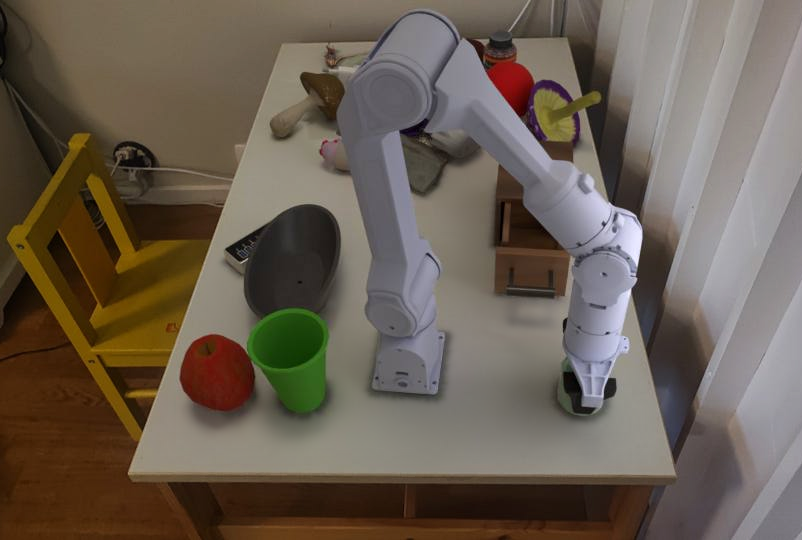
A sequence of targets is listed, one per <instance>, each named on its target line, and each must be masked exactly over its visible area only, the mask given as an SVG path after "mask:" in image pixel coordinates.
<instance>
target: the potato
mask: <svg viewBox="0 0 802 540" xmlns="http://www.w3.org/2000/svg"><path fill="white" fill-rule="evenodd" d="M462 38H464V39H466V40H467V41H468V42H469V43H470V44H471V45H472V46H473V47H474V48H475V50H476V52H477V54H478V57H479V59H480V61H481V63H482V65H483V54H484V47H485V46H486V45H484V44H483V42H481V41H479V40H477V39H473V38H468V37H467V38H466V37H460V40H461V39H462Z"/></svg>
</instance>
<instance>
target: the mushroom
mask: <svg viewBox="0 0 802 540" xmlns="http://www.w3.org/2000/svg"><path fill="white" fill-rule="evenodd" d="M299 80H300V83H301V85H302V87H303V89H304V90H305V92H306V94H307V96H306V97H305V98H304V99H302V100H301V101H299V102H298V103H295V104H294V105H291V106H290V107H288V108H286V109H283V110H282V111H280V112H278V113H276V115H274V116H273V117H271V119H270V121H269V127H270V130H271V132H272V133H273V134H274V135H275V136H276V137H278V138H284V137H287V136H288V135H289V134H290V133H291V132H292V131H293V129H294V128H295V127H296V125H297V124H298V123H299V122H300V120H301V119H302V118H303V116H305V114H306V113H307V112H309V111H310V110H311V109H313V108H315V107H317V108H318V110H320V111H321V112H322V113H323V115H325V116H326V117H328V119H330V120H334V121H335V120H337V114H336V113H337V110H338V107H339V105H340V103H341V101H342V98H343V96H344V94H345V92H346V90H345V89H344V86H343V84H342V82H341V81H340V80H339V79H338V78H337V77H336V76H334V75H332V74H328V73H325V72H321V73H316V72H310V71H302V72H301V73H300V74H299Z"/></svg>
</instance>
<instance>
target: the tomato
mask: <svg viewBox="0 0 802 540" xmlns="http://www.w3.org/2000/svg"><path fill="white" fill-rule="evenodd" d="M486 74H487V76H488V77H489V79H490V80H491V82H492V83H493V84H494V86H495V87H496V88H497V90H498V91H499V92H500V93H501V95H502V96H503V97H504V99H505V100H506V101H507V102H508V104H509V105H510V106H511V108H512V109H513V110H514V112H515V113H516V114H517V115H518V117H519V118H520V119H522V118H523V117H524V116H526V115H527V106H528V101H529V98H530V94H531V90H532V88H533V87H534V85H535V84H536V82H535V80H534V77H533V75H532V74H531V72H530V71H529V70H528V69H527V67H526V66H525V65H523V64H521V63H518V62H517V61H516V62H512V61H506V62H501V63H498V64H496V65H494V66H493V67H491V68H490V69H489V70H488V71H487V72H486Z"/></svg>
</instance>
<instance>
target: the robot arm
mask: <svg viewBox="0 0 802 540" xmlns="http://www.w3.org/2000/svg"><path fill="white" fill-rule="evenodd" d="M460 38H462V39H461V40H460ZM464 38H465V37H461V36H460V34H459V31H458V29H457V28H456V26H455V25H454V23H453V22H452V21H451V20H450V19H449V18H448V17H447V16H445V15H444V14H442V13H440V12H439V11H437V10H434V9H430V8H422V7H420V8H414V9H411V10H409V11H406V12H405V13H403V14H402V15H401V16H400V17H399V18H397V19H396V20H395V21H394V22H393V23H392V24H390V25H389V26H388V27H387V28H386V29H385V30H384V32H383V33H382V34H381V35H380V37H379V38H378V39H377V42H376V43H375V44H374V45H373V47H372V48H371V49H370V50H369V51H370V52H368V54H367V55H366V56H365V59H364V61H363V62H362V63H361V65H360V66H359V67H358V69H357V70H356V71H355V72H354V74H352V76H351V77H350V78H349V80H348V87H347V89H346V90H345V94H344V96H343V98H342V101H341V103H340V105H339V107H338V110H337V113H336V114H337V119H336V122H337V125H338V129H339V130H340V134H341V136H340V139H341V140H342V141H343V145H344V149H345V153H346V157H347V161H348V165H349V169H350V171H349V172H350V176H351V181H352V185H353V188H354V191H355V196H356V199H357V204H358V207H359V211H360V215H361V219H362V223H363V227H364V231H365V236H366V238H367V243H368V246H369V250H370V254H371V261H370V265H369V271H368V275H367V280H366V285H365V291H366V295H367V301H366V303H365V305H364V308H363V309H364V315H365V317H366V319H367V321H368V322H369V323H370V324H371V326H373V327H374V329H376V330H377V334H378V335H377V336H378V344H377V349H376V353H375V369H374V374H373V377H372V383H371V388H372V390H374V391H382V392H395V393H396V392H397V393H407V394H408V393H409V394H422V395H436V394H437V393H438V391H439V382H440V376H441V369H442V362H443V354H444V347H445V341H446V334H445V332H444V331H439V329H438V327H439V326H438V325H439V324H438V310H437V309H438V307H437V300H436V298H435V295H434V288H435V285H436V283H437V281H438V280H439V279H440V277H441V275H442V272H443V271H442V270H443V268H442V267H443V266H442V264H441V262H440V259H439V258H438V257H437V255H436V254H435V253H434V251H433V249H432V247H431V243H430V239H429V238H428V237H425V236H423V235H419V234H420V233H419V230H418V224H417V218H416V214H415V209H414V203H413V197H412V191H411V185H410V183H409V181H408V176H407V171H406V165H405V160H404V155H403V149H402V144H401V139H400V134H399V130H402V129H405V128H409V127H411V126H414V125H416V124H418V123H420V122H421V121H422V120H424V118H426V119H428V120H429V122H428V123H427V125H426V127H425V129H424V128H423V132H425V133H426V132H427V133H433V132H441V131H449V130H458V129H461V130H463V131H465V132H466V133H467V134H468V135H469V136H470V137H471V138H472V139H473V140H474V141H475V142H476V143H478V144H479V145H478V146H479V147H480V148H482V149H483V150H484V151H485V152H486V153H487V154H488V155H489V156H490V157H491V158H492V159H494V160H495V162H496V163H498V165H499V164H500V165H501V166H502V167H503V168H504V169H506V170H507V171H508V172H509V173H510V174H511V175H512V176H513V177H514V178H515V179H516V180H517V181H518V182H519V183H521V184H522V185H523V188H524V195H523V204H524V206H525V207H526V208H527V209H528V211H529V212H530V213H531V214H532V215H533V216H534V217H535V218H536V219H537V220H538V221H539V222H540V223H541V224H542V225H543V226H544V228H545V229H546V230H547V231H548V232H549V233H550V234H551V235H552V236H553V237H554V238H555V239H556V240H557V241H558V242H559V244H560V245H561V246H562V247H563V248H564V251H567V252H568V253H569V254H570V257H572V258H573V259H574V261H573V265H571V273H572V277H573V280H572V287H571V294H570V300H569V306H568V312H567V317H565V318H564V319H563V320H562V339H561V340H562V341H561V345H562V349H563V352H564V354H565V357H566V356H567V358H568V360H569V362H570V365H571V367H572V369H573V371H574V372H565V371H564V372H563V387H564V391H565V393H566V394H568V395H569V396H570V398H571V404H572V409H573V412H574V413H576V414H588V416H591V414H592V413H593V412H594V410H595V409H596V408H600V409H601V408H602V407H603V405H602V402H603V401H604V400H605V401H606V400H608V399H611V398H614V397H615V395H616V393H617V390H618V387H617V378H616V377H610V378H608V377H609V375H610V376H611V372H612V370H613V367H614V365H615V363H616V360H617V358H618V356H620V355H628V354H629V350H630V339H629V337H627V336H625V335H622V333H623V332H622V331H623V328H624V324H625V320H626V315H627V310H628V306H629V303H630V298H631V295H632V294H631V293H632V288H634V286H635V285H636V283H637V281H638V278H637V277H636V276H637V274H638V273H637V272H638V267H639V260H640V254H641V250H642V242H643V227H642V225H641V223H640V221H639V220H638V217H637V215H636V214H635V213H633V212H631V211H630V210H628V209H625V208H622V207H618V206H614V205H613V204H612V203H611V202H610V201H606V200H605V198H603V196H602V195H601V194H600V193H599V191H598V190H597V189H596V188H595V187H594V186H595V182H596V181H595V180H594V178H593V177H592V176H591V175H590V174H589V173H588V172H584V173H582V172H581V171H580V170H579V169H578V168H577V167H576V166H575V164H573V163H571V162H569V161H561V160H552V159H551V158H550V157H549V155H548V154H547V153H546V152H545V150H544V149H543V148H542V146H541V145H540V144H539V142H538V141H537V140H538V139H537V138H536V137H534V135H533V134H532V133H531V132H530V131H529V130H528V128H527V127H526V124H525V123H524V121H523V120H522V118H519V117H518V115H517V114H516V113H515V112H514V110H513V109H512V108H511V106H510V105H509V104H508V102H507V101H506V100H505V99H504V97H503V96H502V95H501V93H500V92H499V91H498V90H497V88H496V87H495V86H494V84H493V83H492V82H491V80H490V79H489V77H488V76H487V74H486V72H485V69H484V67H483V65H482V63H481V61H480V59H479V57H478V54H477V52H476V50H475V48H474V47H473V46H472V45H471V44H470V43H469V42H468V41H467V40H466V39H464ZM427 133H426V134H427ZM605 401H604V402H605ZM604 402H603V403H604ZM601 406H602V407H601ZM592 415H593V414H592Z"/></svg>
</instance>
